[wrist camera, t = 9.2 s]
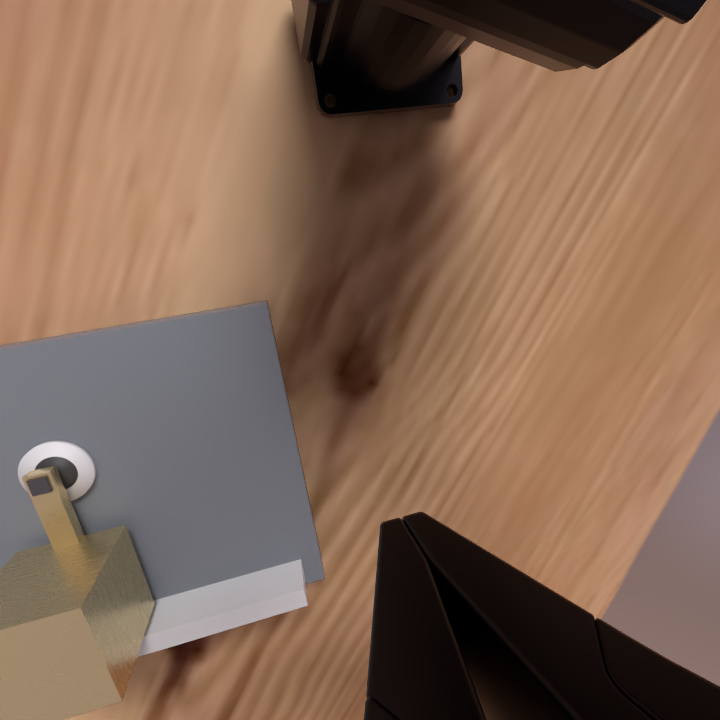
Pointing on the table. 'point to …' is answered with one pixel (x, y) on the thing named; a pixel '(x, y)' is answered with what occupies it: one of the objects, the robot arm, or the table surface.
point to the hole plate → (168, 461)
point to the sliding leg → (69, 613)
